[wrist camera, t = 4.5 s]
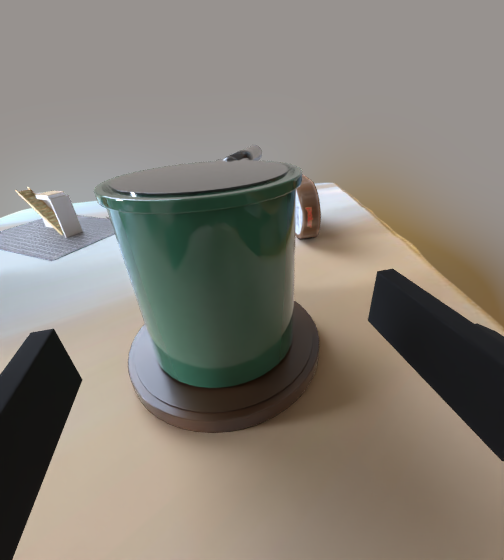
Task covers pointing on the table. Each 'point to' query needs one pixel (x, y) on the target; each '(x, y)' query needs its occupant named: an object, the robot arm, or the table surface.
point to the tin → (307, 209)
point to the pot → (211, 262)
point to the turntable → (228, 400)
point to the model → (53, 228)
